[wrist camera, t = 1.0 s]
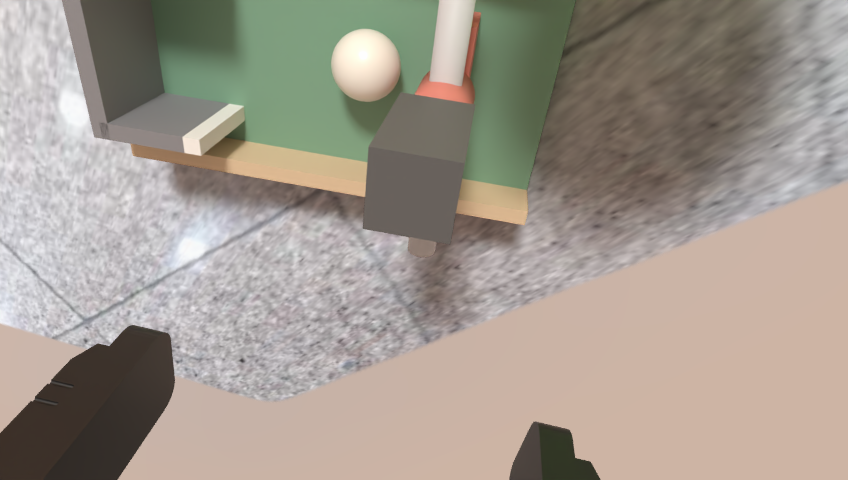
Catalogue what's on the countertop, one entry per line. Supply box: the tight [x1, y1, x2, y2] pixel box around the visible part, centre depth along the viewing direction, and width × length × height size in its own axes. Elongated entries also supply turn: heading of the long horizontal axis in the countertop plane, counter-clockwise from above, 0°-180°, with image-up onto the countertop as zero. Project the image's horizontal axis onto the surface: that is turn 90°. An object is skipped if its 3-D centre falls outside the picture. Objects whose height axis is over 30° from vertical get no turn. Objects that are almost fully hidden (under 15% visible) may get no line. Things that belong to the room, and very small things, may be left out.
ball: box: [331, 29, 401, 102], centre depth 30 cm, size 4×4×4 cm
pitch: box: [62, 0, 576, 225], centre depth 30 cm, size 26×16×7 cm, turn 83°
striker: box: [363, 0, 481, 257], centre depth 25 cm, size 3×17×16 cm, turn 173°
